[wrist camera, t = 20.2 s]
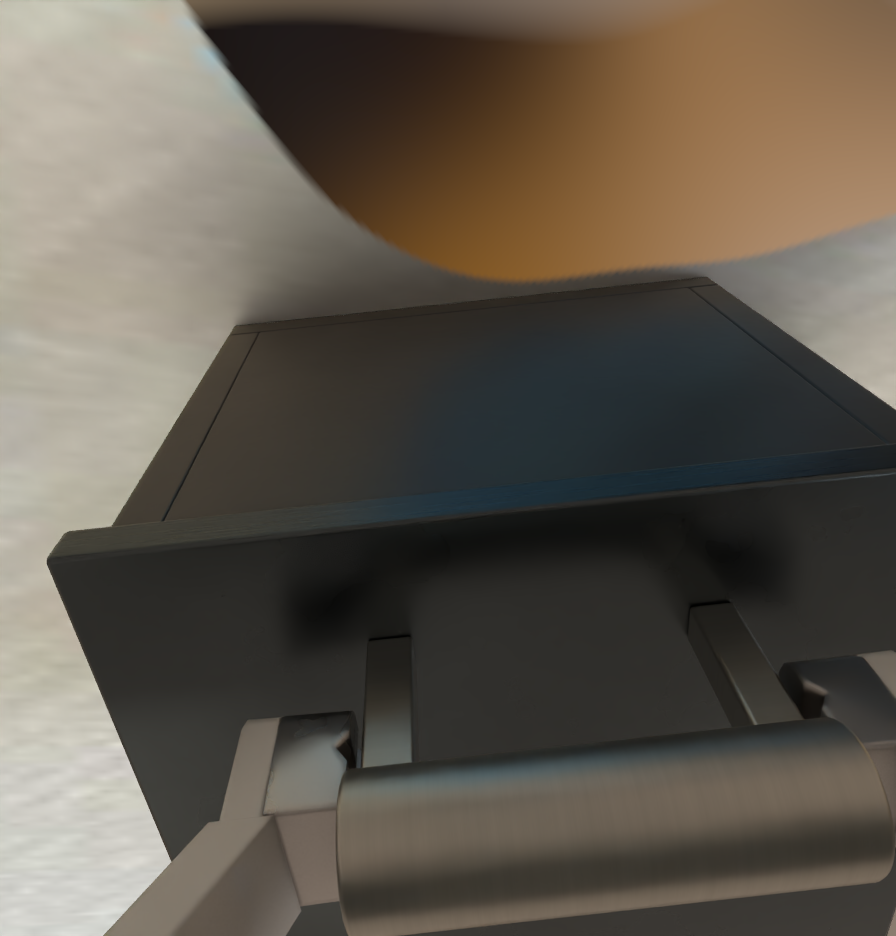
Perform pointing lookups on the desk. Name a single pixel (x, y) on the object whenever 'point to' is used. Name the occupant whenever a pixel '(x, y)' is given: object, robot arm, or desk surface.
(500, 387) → the waste bin
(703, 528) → the bin lid
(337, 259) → the desk surface
